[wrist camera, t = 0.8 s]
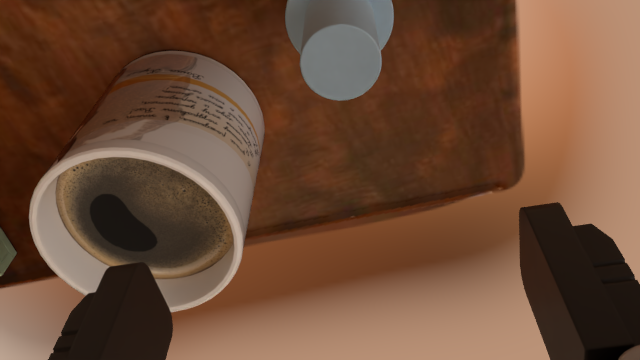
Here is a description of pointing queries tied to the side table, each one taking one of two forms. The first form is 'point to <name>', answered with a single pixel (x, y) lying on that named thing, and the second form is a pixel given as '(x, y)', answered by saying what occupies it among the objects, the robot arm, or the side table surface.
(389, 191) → the side table surface
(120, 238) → the mug
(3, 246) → the tray
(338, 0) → the blue bottle
